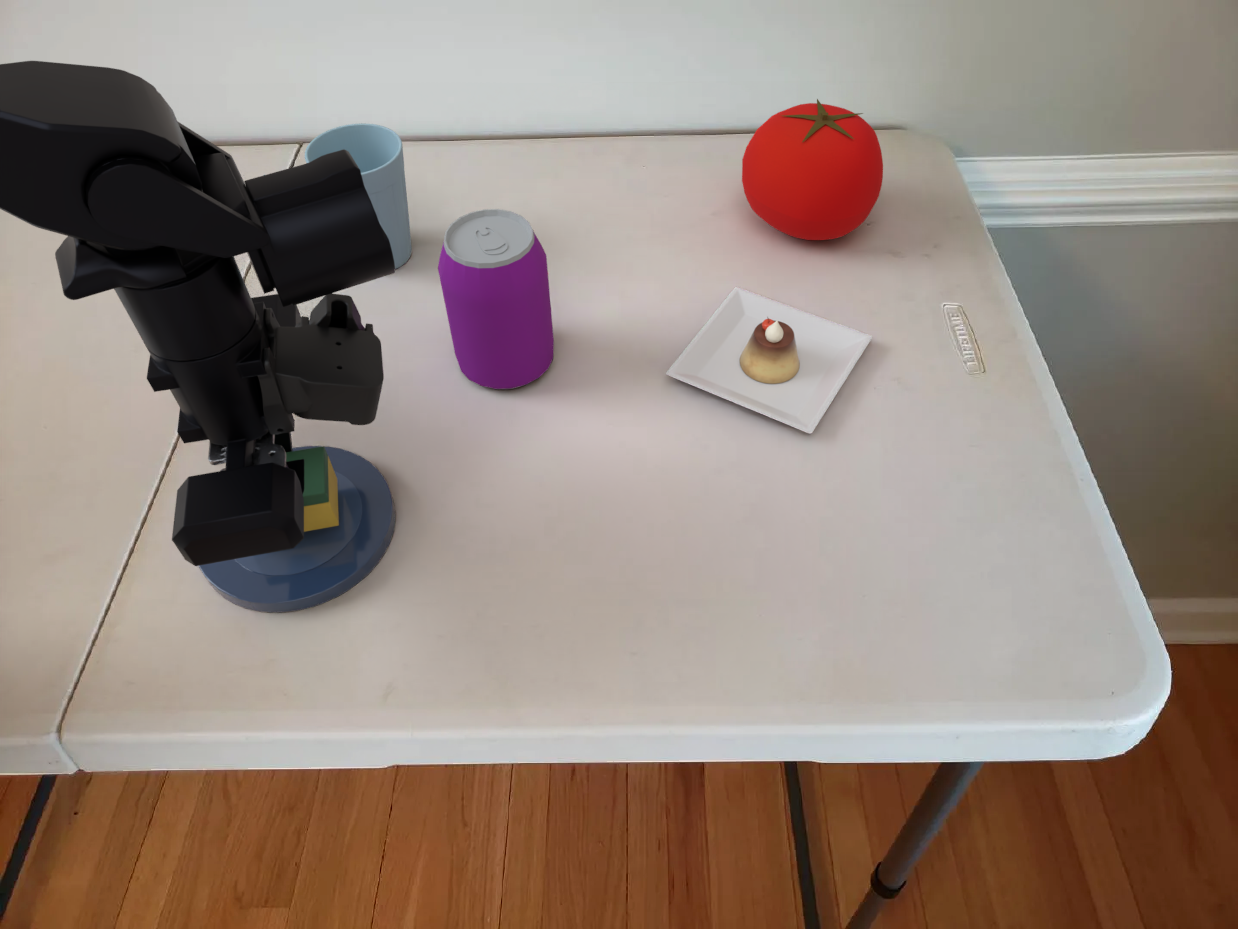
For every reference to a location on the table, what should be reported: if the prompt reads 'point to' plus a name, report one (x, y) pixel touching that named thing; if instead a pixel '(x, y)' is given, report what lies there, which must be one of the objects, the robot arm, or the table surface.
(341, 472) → the plate
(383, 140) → the cup
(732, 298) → the dessert
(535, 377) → the beverage can
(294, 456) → the sponge
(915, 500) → the table surface
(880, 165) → the tomato
